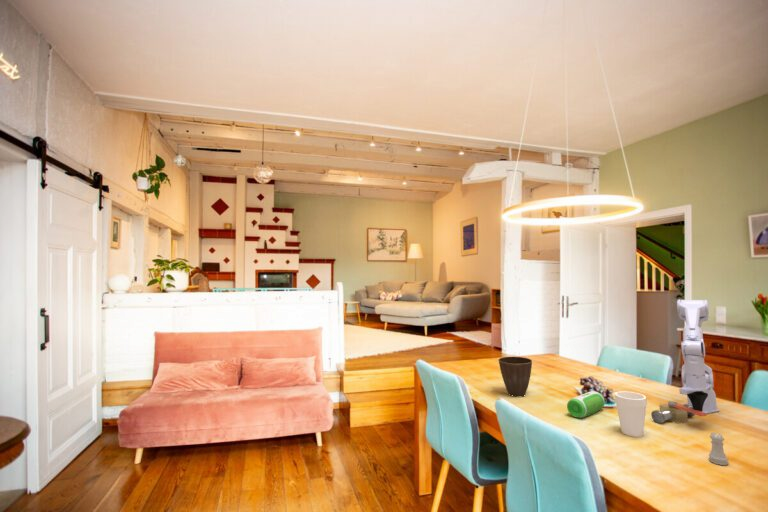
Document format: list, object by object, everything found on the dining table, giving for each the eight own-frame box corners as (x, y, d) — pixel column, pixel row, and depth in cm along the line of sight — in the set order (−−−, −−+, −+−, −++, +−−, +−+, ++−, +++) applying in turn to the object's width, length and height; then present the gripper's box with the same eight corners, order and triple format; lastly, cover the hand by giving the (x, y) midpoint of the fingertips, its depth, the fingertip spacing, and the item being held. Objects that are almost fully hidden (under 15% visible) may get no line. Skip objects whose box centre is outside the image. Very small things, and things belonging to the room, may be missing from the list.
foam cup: (633, 440, 128) (631, 401, 129) (610, 429, 137) (608, 393, 138) (655, 436, 131) (653, 397, 131) (631, 426, 140) (629, 390, 140)
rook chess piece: (708, 457, 116) (706, 430, 116) (728, 461, 113) (726, 433, 113) (708, 463, 112) (706, 435, 113) (729, 467, 109) (727, 438, 110)
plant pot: (521, 402, 169) (519, 365, 170) (493, 394, 181) (491, 359, 182) (540, 395, 178) (538, 360, 179) (512, 387, 190) (511, 355, 191)
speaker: (584, 421, 146) (583, 401, 146) (566, 416, 152) (565, 396, 152) (606, 411, 156) (605, 392, 156) (588, 406, 162) (587, 388, 162)
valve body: (681, 413, 150) (680, 401, 151) (698, 419, 145) (697, 406, 145) (649, 420, 145) (648, 407, 145) (665, 425, 139) (664, 412, 140)
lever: (666, 405, 146) (666, 401, 146) (672, 404, 147) (672, 401, 147) (700, 416, 134) (699, 413, 134) (706, 415, 135) (706, 412, 135)
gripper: (696, 369, 144) (698, 406, 144) (669, 373, 140) (672, 411, 139) (717, 373, 138) (720, 412, 137) (690, 378, 133) (693, 418, 132)
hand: (697, 412), depth 137 cm, fingers closed, pressing on lever
